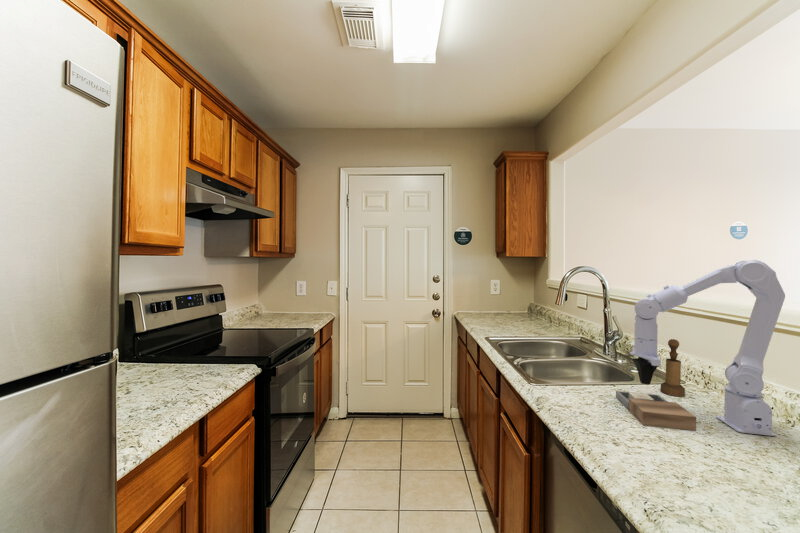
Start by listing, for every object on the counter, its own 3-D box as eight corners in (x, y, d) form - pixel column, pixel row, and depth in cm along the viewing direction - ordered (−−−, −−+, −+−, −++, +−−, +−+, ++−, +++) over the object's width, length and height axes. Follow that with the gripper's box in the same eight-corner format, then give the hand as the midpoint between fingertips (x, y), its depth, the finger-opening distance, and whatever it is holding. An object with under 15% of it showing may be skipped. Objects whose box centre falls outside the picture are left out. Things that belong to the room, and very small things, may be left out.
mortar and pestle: (689, 397, 115) (690, 342, 114) (666, 395, 116) (668, 341, 116) (677, 390, 121) (679, 338, 121) (656, 389, 122) (657, 336, 122)
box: (675, 414, 101) (675, 407, 101) (627, 409, 104) (628, 402, 104) (658, 401, 111) (658, 394, 111) (615, 397, 114) (616, 390, 114)
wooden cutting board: (696, 430, 91) (696, 417, 91) (643, 425, 94) (643, 411, 94) (675, 414, 101) (676, 402, 101) (628, 410, 104) (628, 398, 104)
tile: (646, 393, 111) (646, 400, 111) (628, 392, 112) (628, 398, 112) (654, 399, 106) (654, 406, 106) (635, 398, 107) (635, 404, 107)
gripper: (622, 333, 115) (621, 375, 115) (640, 342, 101) (640, 390, 101) (646, 334, 113) (646, 377, 113) (669, 344, 99) (668, 392, 99)
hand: (645, 383), depth 107 cm, fingers closed
